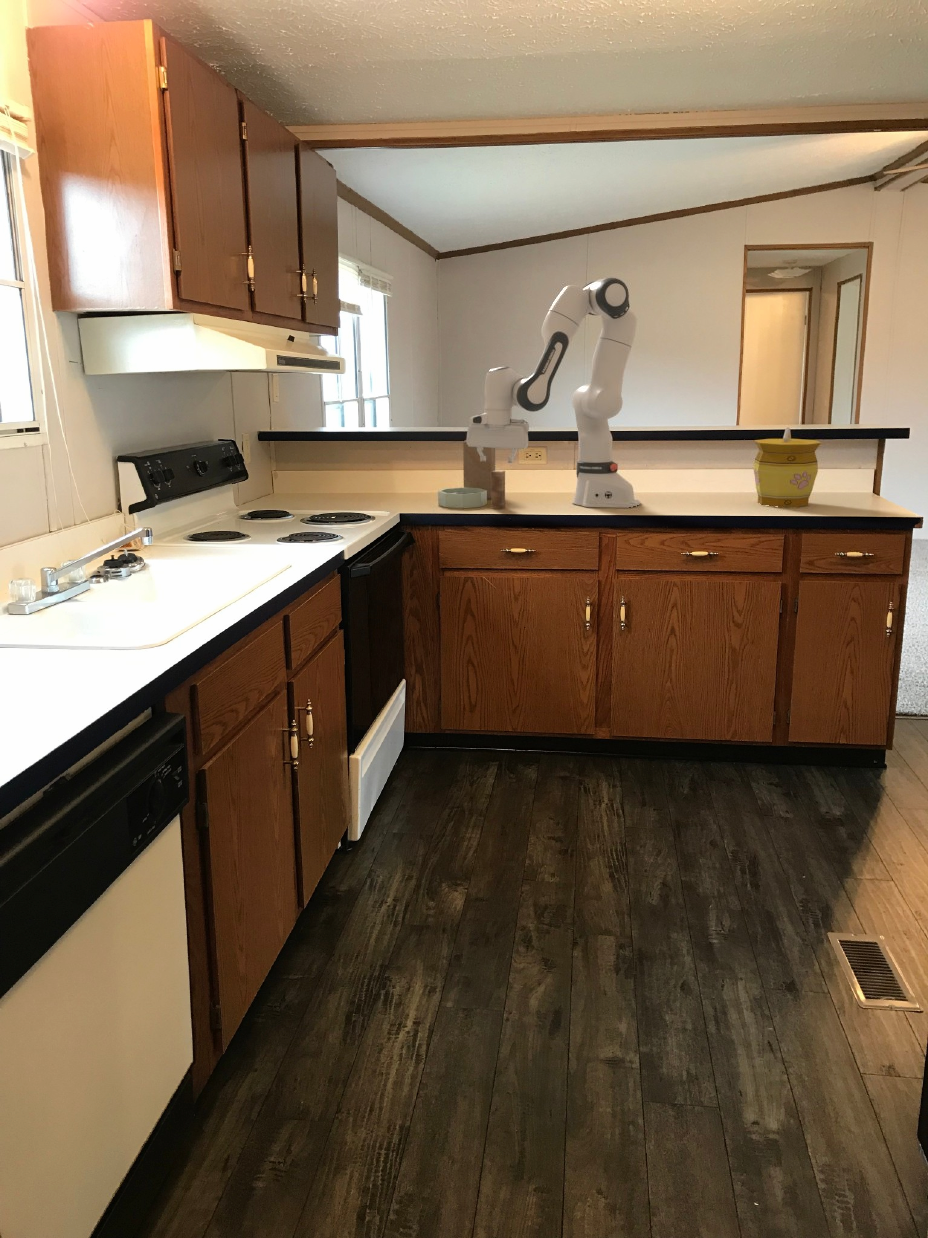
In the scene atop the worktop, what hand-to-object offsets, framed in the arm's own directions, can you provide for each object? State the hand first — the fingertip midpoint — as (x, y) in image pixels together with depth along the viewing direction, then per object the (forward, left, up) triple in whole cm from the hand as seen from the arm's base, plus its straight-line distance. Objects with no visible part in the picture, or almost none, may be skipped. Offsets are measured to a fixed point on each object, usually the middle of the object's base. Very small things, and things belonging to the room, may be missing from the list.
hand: (496, 461), depth 322 cm
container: (-88, -34, -15) cm, 96 cm away
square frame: (+14, -4, -15) cm, 21 cm away
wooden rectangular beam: (0, 0, -15) cm, 15 cm away
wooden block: (+14, -22, -15) cm, 30 cm away
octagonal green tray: (+14, -4, -15) cm, 21 cm away
